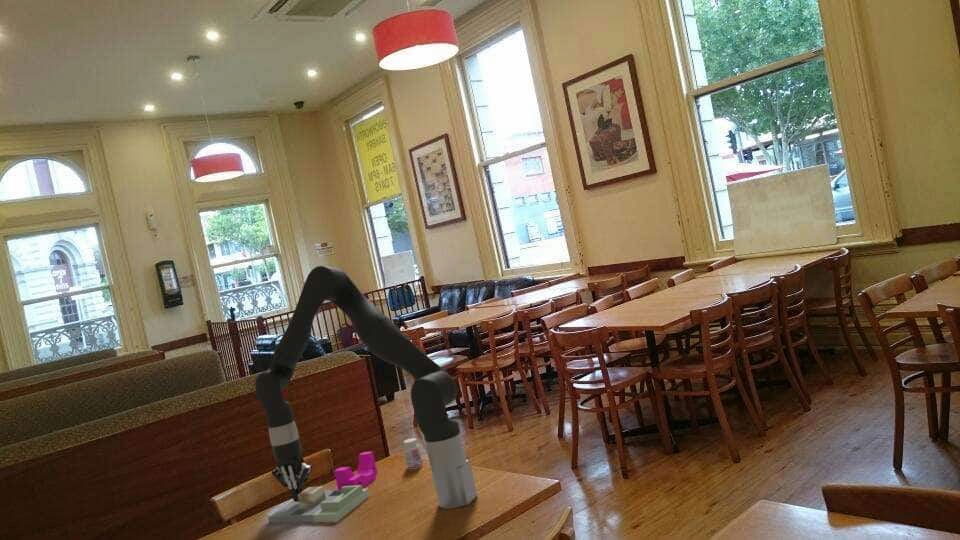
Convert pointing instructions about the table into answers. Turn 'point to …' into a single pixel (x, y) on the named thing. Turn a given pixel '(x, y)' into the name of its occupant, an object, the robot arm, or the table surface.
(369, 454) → the toy block
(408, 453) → the pill bottle
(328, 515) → the board
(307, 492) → the birch block
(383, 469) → the table surface
